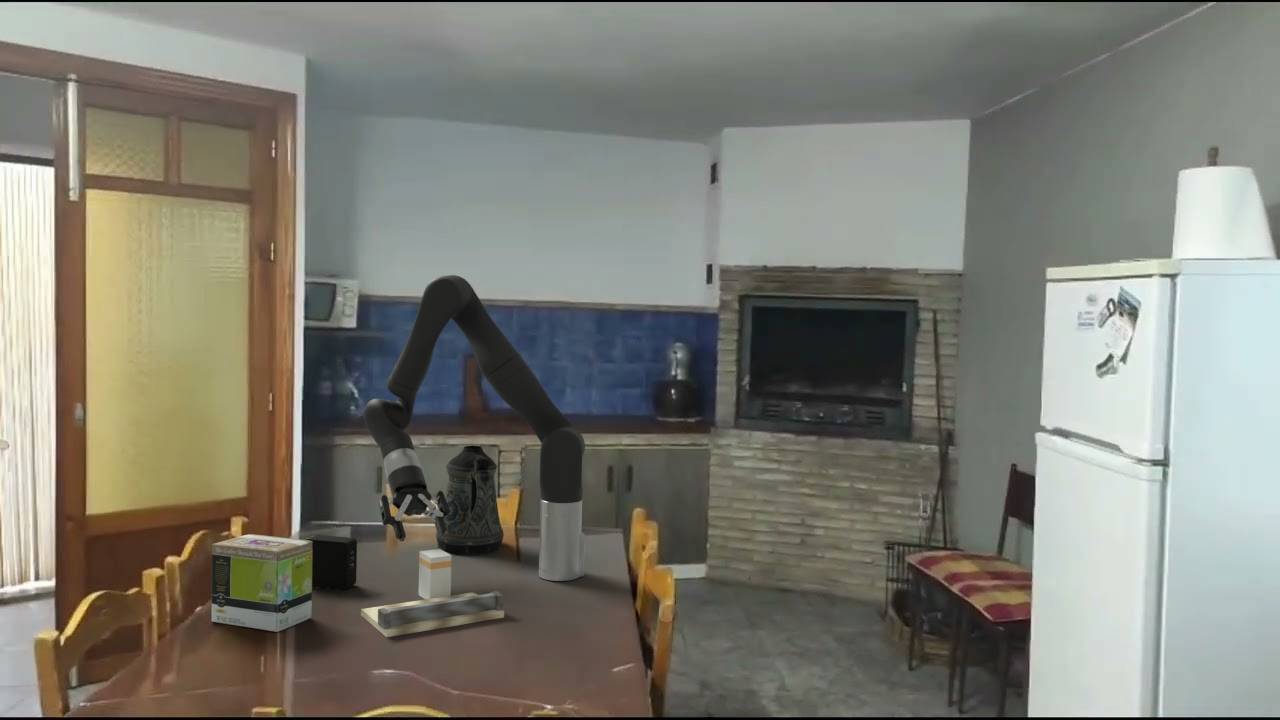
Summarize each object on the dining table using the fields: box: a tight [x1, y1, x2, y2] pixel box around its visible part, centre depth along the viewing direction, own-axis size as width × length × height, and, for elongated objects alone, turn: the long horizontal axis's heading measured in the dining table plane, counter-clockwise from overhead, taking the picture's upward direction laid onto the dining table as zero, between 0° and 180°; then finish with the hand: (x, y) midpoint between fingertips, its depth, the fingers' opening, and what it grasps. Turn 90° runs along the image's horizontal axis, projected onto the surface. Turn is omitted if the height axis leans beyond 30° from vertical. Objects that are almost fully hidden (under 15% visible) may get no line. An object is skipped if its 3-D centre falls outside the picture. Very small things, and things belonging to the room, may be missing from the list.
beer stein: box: [435, 445, 505, 556], centre depth 231 cm, size 16×19×25 cm
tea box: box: [211, 533, 313, 633], centre depth 173 cm, size 15×10×15 cm, turn 71°
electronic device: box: [305, 534, 358, 591], centre depth 196 cm, size 4×10×10 cm, turn 78°
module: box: [418, 548, 453, 600], centre depth 191 cm, size 4×6×9 cm
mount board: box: [360, 590, 505, 638], centre depth 178 cm, size 23×14×4 cm, turn 125°
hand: (422, 537), depth 196 cm, fingers open, 8 cm apart
